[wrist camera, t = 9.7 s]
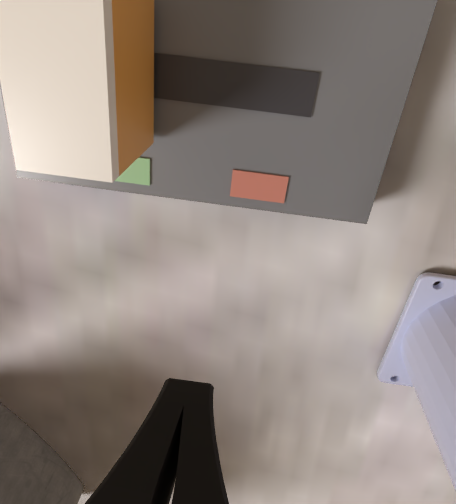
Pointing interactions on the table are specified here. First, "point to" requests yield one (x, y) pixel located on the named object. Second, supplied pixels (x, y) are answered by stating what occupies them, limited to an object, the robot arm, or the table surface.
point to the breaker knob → (78, 84)
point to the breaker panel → (275, 103)
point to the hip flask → (32, 467)
